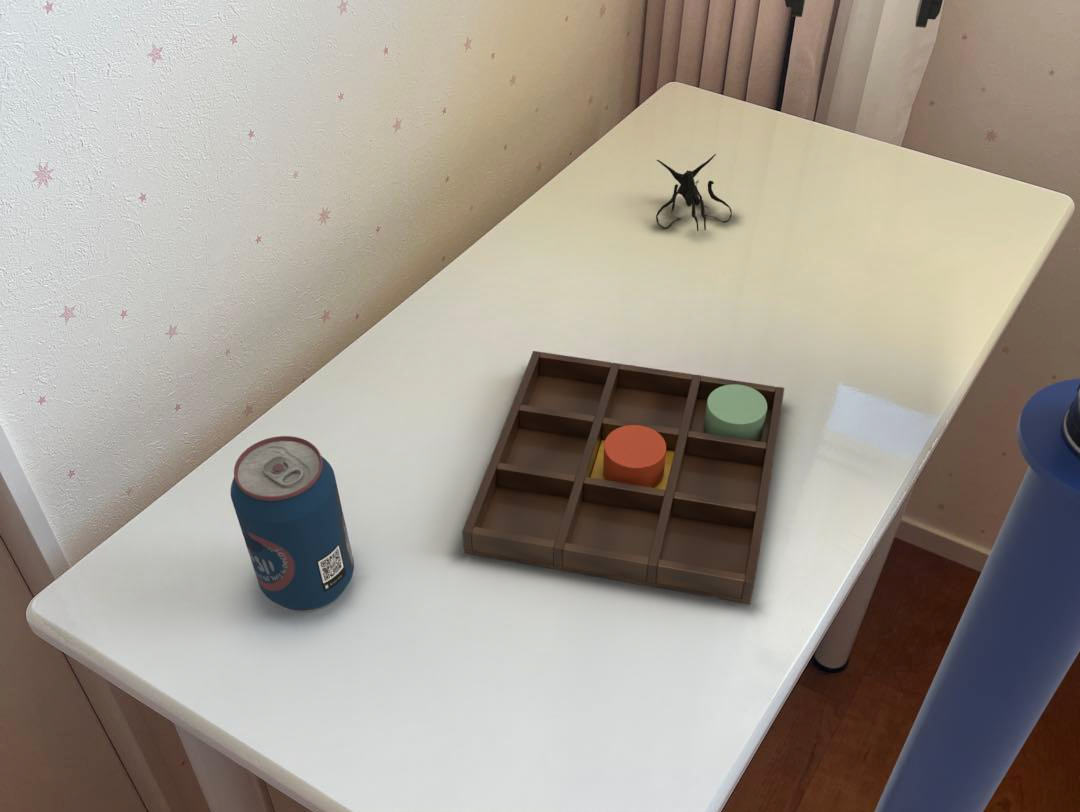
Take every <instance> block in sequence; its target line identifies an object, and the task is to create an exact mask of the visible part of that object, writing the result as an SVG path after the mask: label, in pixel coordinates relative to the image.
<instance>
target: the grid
mask: <svg viewBox="0 0 1080 812" xmlns="http://www.w3.org/2000/svg"><path fill="white" fill-rule="evenodd" d="M733 384H735V385H744V386H748V387H750V388H753V389H755V390H756V391H758V392H759V393H761V394H762V395H763V397H764V398H765V400H766V402H767V412H766V418H765V423H764V428H763V434H762V437H761V438H760V440H759V441H752V440H746V439H739V438H733V437H726V436H720V435H713V434H707V433H705V431H704V422H705V414H706V406H707V400H708V397H709V395H710V394H711V393H712V392H713V391H714V390H715V389H717V388H719V387H721V386H725V385H733ZM784 394H785V388H784V387H781V386H775V385H769V384H763V383H762V384H761V383H754V382H748V381H742V380H734V379H727V378H721V377H720V378H719V377H713V376H708V375H707V376H706V375H700V374H694V373H686V372H679V371H674V370H665V369H659V368H652V367H647V366H646V367H645V366H640V365H632V364H625V363H619V362H612V361H605V360H598V359H591V358H585V357H577V356H571V355H564V354H557V353H550V352H545V351H543V352H542V351H538V350H533V351H532V353H531V356H530V358H529V360H528V364H527V365H526V368H525V371H524V374H523V376H522V378H521V381H520V383H519V386H518V388H517V391H516V393H515V396H514V399H513V401H512V403H511V406H510V409H509V412H508V414H507V416H506V418H505V421H504V424H503V427H502V429H501V432H500V434H499V437H498V439H497V442H496V444H495V446H494V449H493V452H492V454H491V457H490V460H489V462H488V465H487V467H486V470H485V473H484V475H483V478H482V480H481V482H480V485H479V487H478V490H477V492H476V495H475V499H474V501H473V502H472V505H471V508H470V511H469V513H468V516H467V518H466V521H465V523H464V526H463V529H462V530H461V531H462V532H461V533H462V534H461V535H462V544H463V553H465V554H469V555H476V556H480V557H481V556H482V557H486V558H492V559H498V560H503V561H509V562H513V563H520V564H526V565H531V566H537V567H543V568H548V569H554V570H558V571H565V572H570V573H574V574H575V573H576V574H581V575H586V576H592V577H597V578H603V579H609V580H615V581H620V582H625V583H631V584H637V585H642V586H649V587H654V588H657V589H658V588H659V589H665V590H670V591H676V592H681V593H686V594H691V595H697V596H702V597H703V596H704V597H709V598H713V599H714V598H715V599H719V600H724V601H730V602H736V603H743V604H747V605H751V603H752V597H753V593H754V589H755V583H756V577H757V570H758V563H759V557H760V550H761V546H762V545H761V544H762V537H763V532H764V526H765V518H766V512H767V505H768V499H769V494H770V493H769V491H770V487H771V479H772V472H773V465H774V458H775V452H776V446H777V440H778V435H779V433H778V432H779V426H780V421H781V414H782V407H783V401H784ZM628 425H640V426H645V427H648V428H651V429H653V430H655V431H656V432H658V433H659V434H660V435H661V436H662V437H663V439H664V441H665V443H666V456H665V466H664V475H663V479H662V480H661V482H660V483H659V484H658V485H657V486H656V487H655V488H651V487H645V486H639V485H633V484H627V483H621V482H614V481H608V480H606V479H605V477H604V474H603V459H604V442H605V440H606V438H607V436H608V435H609V434H610V433H611V432H612V431H614V430H615V429H617V428H620V427H623V426H628Z"/></svg>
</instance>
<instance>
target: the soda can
mask: <svg viewBox="0 0 1080 812" xmlns="http://www.w3.org/2000/svg"><path fill="white" fill-rule="evenodd" d="M229 493H230V499H231V502H232V505H233V508H234V511H235V514H236V517H237V520H238V524H239V528H240V530H241V533H242V536H243V539H244V543H245V546H246V549H247V552H248V555H249V558H250V561H251V564H252V567H253V570H254V573H255V577H256V581H257V583H258V586H259V589H260V590H261V592H262V594H263V595H264V596H266V597H267V598H268V599H269V600H270V601H271V602H273V603H274V604H276V605H278V606H280V607H283V608H285V609H287V610H290V611H295V612H313V611H317V610H321V609H323V608H326V607H328V606H329V605H331V604H333V603H334V602H335V601H336V600H337V599H338V598H339V597H340V596H341V595H342V594H343V593H344V591H345V590H346V589H347V587H348V586H349V584H350V582H351V580H352V578H353V575H354V570H355V561H354V556H353V551H352V546H351V543H350V538H349V533H348V529H347V524H346V520H345V516H344V510H343V506H342V502H341V497H340V493H339V489H338V483H337V479H336V475H335V471H334V469H333V467H332V465H331V464H330V463H329V461H328V460H327V459H326V458H325V457H324V456H322V455H321V452H320V450H319V449H318V448H317V447H316V446H315V445H314V444H313V443H311V442H310V441H309V440H306V439H304V438H301V437H299V436H298V437H297V436H292V435H280V436H273V437H268V438H265V439H262V440H260V441H257V442H255V443H253V444H252V445H250V446H249V447H247V448H246V449H245V450H244V451H243V452H242V453H241V454H240V455H239V457H238V458H237V460H236V461H235V464H234V467H233V478H232V481H231V485H230V492H229Z"/></svg>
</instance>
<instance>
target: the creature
mask: <svg viewBox="0 0 1080 812" xmlns="http://www.w3.org/2000/svg"><path fill="white" fill-rule="evenodd" d="M716 156H717V153H714V154H713V155H712V156H711V157H710V158H709V159H707V160H706V161H705V162H703V163H701V164H700V165H699V166H697V167H695V169H693V170H686V172H684V173H681V172H677V171H675V170H674V169H673V168H671V167H670V166H668V165H667V164H665V163H664V162H663V161H661V160H659V159H656V161H657V163H659V164H661V165H662V166H663V167H664V168H666V169H667V171H668V172H670V174H671V175H672V177H673V178H674V179H675V180H676V182H678V183H675V185H674V187H673V193H672V196H671V198H670V200H668V201H667V202H666V203H665V204H663V205H661V207H660V208H659V209H658V210H657V213H656V215H655V219H656V220H655V221H656V223H657V225H658V226H659V227H660V228H661V229H665V230H666V229H669V228H670V227H671V226H672V225H673V224H674V223H675V222H676V221H678V220H681V219H683V218H682V217H677V218H676V219H674V220H673V221H672V222H670V224H668V226H663V225H662V224H661V223H660V222H659V215H660V214H661V213H662V211H663V210H664V209H665V208H667V207H669V206H670V205H671V212H673V211H674V210H675V207H676V199H677V196H678V195H681V196H682V198H683V199H684V201H685V205H686V206H687V207H688V208H689V207H691V218H693V219H694V221H695V224H696V231H697V232H699V220H698V217H697V215H696V206H697V207H698V206H700V215H701V217H702V218H703V228H704V231H706V232H707V223H706V222H707V217H709V218H713V219H715V220H717V221H720V222H722V223H727V222H729V221H730V219H731V218H732V215H733V212H732V211H733V210H732V208H731V206H730V205H729V204H727V202H726V201H724V200H723V199H721V198H719V196H716V195H715V194H714V191H713V189H712V188H713V187H712V186H713V185H714V184H715V183H714V181H713V180H708V182H707V192H708V194H709V197H710V198H711V199H712V200H714V201H715V202H718V203H721V204H723V205H724V206H725V207H727V208H728V209H729V212H730V215H729V218H727V220H721V219H720V218H718V217H715V216H711V215H708V214H706V213H705V212H706V211H705V208H707V209H709V207H708V206H706V205H705V204H704V200H703V196H702V195H701V193H700V191H699V189H698V187H697V186H698V183H699V181H700V179H698V180H697V181H695V177H696V176H697V175H698V174H699V172H700V171H701V170H702V169H703V168H704V167H706V166H707V165H708V164H709V163H710V162H711V161H712V160H713V159H714V158H715V157H716Z"/></svg>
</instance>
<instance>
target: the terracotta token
mask: <svg viewBox="0 0 1080 812" xmlns="http://www.w3.org/2000/svg"><path fill="white" fill-rule="evenodd" d="M665 456H666V443H665V441H664V439H663V437H662V436H661V435H660V434H659V433H658V432H656V431H655V430H653V429H651V428H648V427H645V426H640V425H628V426H623V427H620V428H617V429H615V430H614V431H612V432H611V433H610V434H609V435H608V436H607V438H606V440H605V442H604V459H603V474H604V477H605V479H606V480H608V481H614V482H621V483H627V484H633V485H639V486H645V487H651V488H655V487H656V486H657V485H658V484H659V483H660V482H661V480H662V479H663V475H664V466H665Z"/></svg>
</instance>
